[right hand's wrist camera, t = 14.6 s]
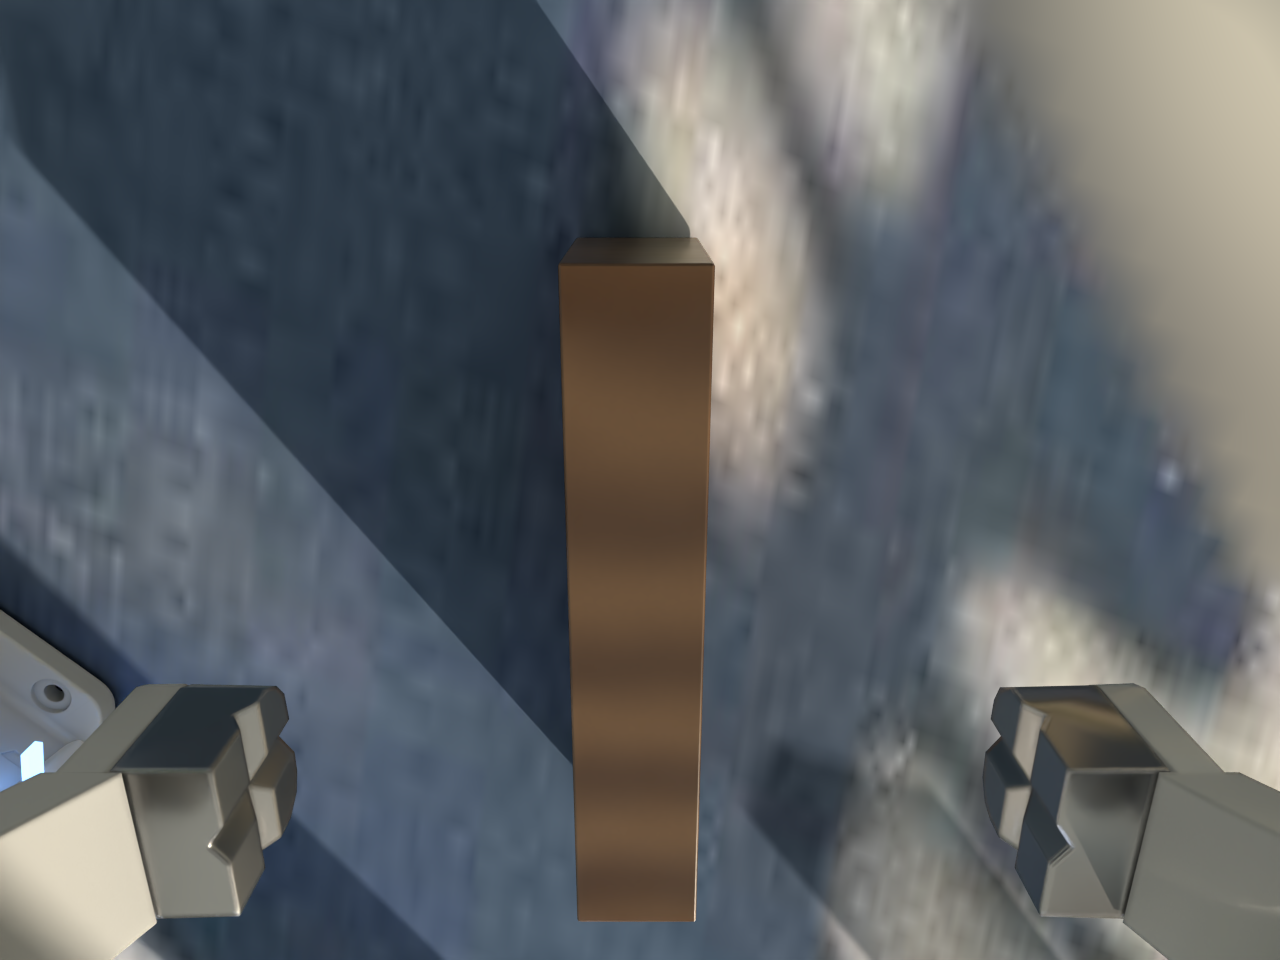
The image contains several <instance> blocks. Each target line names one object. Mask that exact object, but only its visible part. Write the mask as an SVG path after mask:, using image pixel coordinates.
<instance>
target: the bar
mask: <svg viewBox="0 0 1280 960" xmlns="http://www.w3.org/2000/svg"><path fill="white" fill-rule="evenodd" d="M714 279H715V265H714V263H713V262H712V260H711V259H710V257H709V256H708V254H707V252H706V251H705V249H704V248H703V246H702V245H701V243H700V242H699V240H698V239H697V238H576V240H575V241H574V243H573V244H572V246H571V247H570V248H569V250H568V251H567V253H566V254H565V256H564V257H563V259H562V260H561V262H560V263H559V265H558V284H559V317H560V351H561V384H562V418H563V451H564V485H565V518H566V552H567V585H568V619H569V652H570V686H571V719H572V752H573V786H574V819H575V853H576V886H577V919H578V921H695V920H696V898H697V864H698V830H699V795H700V761H701V726H702V692H703V657H704V623H705V588H706V554H707V520H708V485H709V451H710V416H711V382H712V347H713V313H714Z"/></svg>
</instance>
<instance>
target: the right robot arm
mask: <svg viewBox="0 0 1280 960" xmlns="http://www.w3.org/2000/svg"><path fill="white" fill-rule="evenodd" d="M55 685H56V686H58V687H60V688H61V689H62V690H63V692H62V691H60V690H58V689H57V688H56V687H55ZM288 720H289V716H288V711H287V706H286V701H285V696H284V693H283V692H282V691H281V690H280V689H279V688H278V687H277V686H252V685H203V684H191V685H187V684H147V685H143V686H139V687H136V688H135V689H134V690H133V691H132V692H131V693H130V694H129V695H128V696H127V697H126V698H125V699H124V701H123V702H122V703H121V704H120V705H119V706H118V707H117V708H116V709H115V700H114V697H113V695H112V693H111V691H110V690H109V688H108V687H107V686H106V685H105V684H104V683H103V682H101V681H100V680H99V679H97V678H96V677H94V676H93V675H92V674H90V673H89V672H87V671H86V670H85V669H83V668H82V667H80V666H79V665H78V664H76V663H75V662H73V661H72V660H71V659H69V658H68V657H66V656H65V655H64V654H62V653H61V652H59V651H58V650H57V649H55V648H54V647H52V646H51V645H49V644H48V643H47V642H45V641H44V640H42V639H41V638H40V637H38V636H37V635H35V634H34V633H33V632H31V631H30V630H28V629H27V628H26V627H24V626H23V625H21V624H20V623H19V622H17V621H16V620H14V619H13V618H12V617H10V616H9V615H7V614H6V613H4V612H3V611H2V610H0V960H112V959H113V958H114V957H116V956H117V955H118V954H119V953H121V952H122V951H123V950H124V949H126V948H127V947H128V946H129V945H130V944H132V943H133V942H134V941H135V940H137V939H138V938H139V937H140V936H141V935H143V934H144V933H145V932H146V931H148V930H149V929H150V928H151V927H153V926H154V925H155V924H156V923H157V920H156V919H162V918H197V917H231V916H240V915H241V913H242V911H243V909H244V907H245V905H246V903H247V901H248V900H249V898H250V896H251V894H252V892H253V890H254V888H255V886H256V884H257V883H258V881H259V879H260V877H261V875H262V873H263V871H264V869H265V863H264V857H263V852H262V850H263V849H265V848H266V847H268V846H269V845H271V844H272V843H274V842H275V841H276V840H278V839H279V838H281V837H282V835H283V833H284V830H285V828H286V826H287V824H288V822H289V820H290V818H291V815H292V810H293V806H294V801H295V797H296V793H297V767H296V760H295V753H294V751H293V750H292V749H291V748H290V747H289V746H288V745H287V744H286V743H285V742H284V741H283V740H282V739H281V738H280V737H279V735H280V733H281V732H282V730H283V728H284V727H285V725H286V723H287V722H288ZM991 720H992V722H993V723H994V725H995V727H996V728H997V730H998V732H999V733H1000V735H1001V737H1000V738H999V739H998V740H997V741H996V742H995V743H994V744H993V745H992V746H991V747H990V748H989V749H988V750H987V751H986V753H985V761H984V769H983V787H984V798H985V804H986V807H987V811H988V814H989V817H990V821H991V823H992V825H993V827H994V829H995V831H996V833H997V835H998V837H999V838H1001V839H1002V840H1004V841H1005V842H1006V843H1008V844H1009V845H1011V846H1012V847H1014V848H1015V849H1017V850H1018V852H1017V857H1016V863H1015V869H1016V871H1017V873H1018V875H1019V877H1020V879H1021V881H1022V882H1023V884H1024V886H1025V888H1026V890H1027V892H1028V894H1029V896H1030V898H1031V899H1032V901H1033V903H1034V905H1035V907H1036V909H1037V911H1038V913H1039V914H1040V916H1046V917H1082V918H1118V919H1124V920H1123V923H1124V924H1125V925H1127V926H1128V927H1129V928H1130V929H1132V930H1133V931H1134V932H1135V933H1136V934H1138V935H1139V936H1140V937H1141V938H1143V939H1144V940H1145V941H1146V942H1147V943H1149V944H1150V945H1151V946H1152V947H1154V948H1155V949H1156V950H1157V951H1159V952H1160V953H1161V954H1162V955H1163V956H1165V957H1166V958H1167V959H1168V960H1280V792H1279V791H1277V790H1275V789H1273V788H1271V787H1269V786H1267V785H1265V784H1262V783H1260V782H1258V781H1256V780H1254V779H1252V778H1250V777H1248V776H1246V775H1244V774H1241V773H1236V772H1224V771H1223V770H1222V769H1221V768H1220V767H1219V766H1218V765H1217V764H1216V763H1215V762H1214V761H1213V760H1212V759H1211V758H1210V756H1209V755H1208V754H1207V753H1206V752H1205V751H1204V750H1203V749H1202V748H1201V747H1200V746H1199V745H1198V744H1197V743H1196V742H1195V741H1194V740H1193V738H1192V737H1191V736H1190V735H1189V734H1188V733H1187V732H1186V731H1185V730H1184V729H1183V728H1182V727H1181V726H1180V725H1179V724H1178V723H1177V722H1176V720H1175V719H1174V718H1173V717H1172V716H1171V715H1170V714H1169V713H1168V712H1167V711H1166V710H1165V709H1164V708H1163V707H1162V706H1161V705H1160V704H1159V702H1158V701H1157V700H1156V699H1155V698H1154V697H1153V696H1152V695H1151V694H1150V693H1149V692H1148V691H1147V690H1146V689H1145V688H1143V687H1141V686H1138V685H1136V684H1134V683H1130V684H1102V685H1087V686H1043V687H1000V689H999V691H998V693H997V695H996V697H995V699H994V704H993V709H992V715H991Z"/></svg>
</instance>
